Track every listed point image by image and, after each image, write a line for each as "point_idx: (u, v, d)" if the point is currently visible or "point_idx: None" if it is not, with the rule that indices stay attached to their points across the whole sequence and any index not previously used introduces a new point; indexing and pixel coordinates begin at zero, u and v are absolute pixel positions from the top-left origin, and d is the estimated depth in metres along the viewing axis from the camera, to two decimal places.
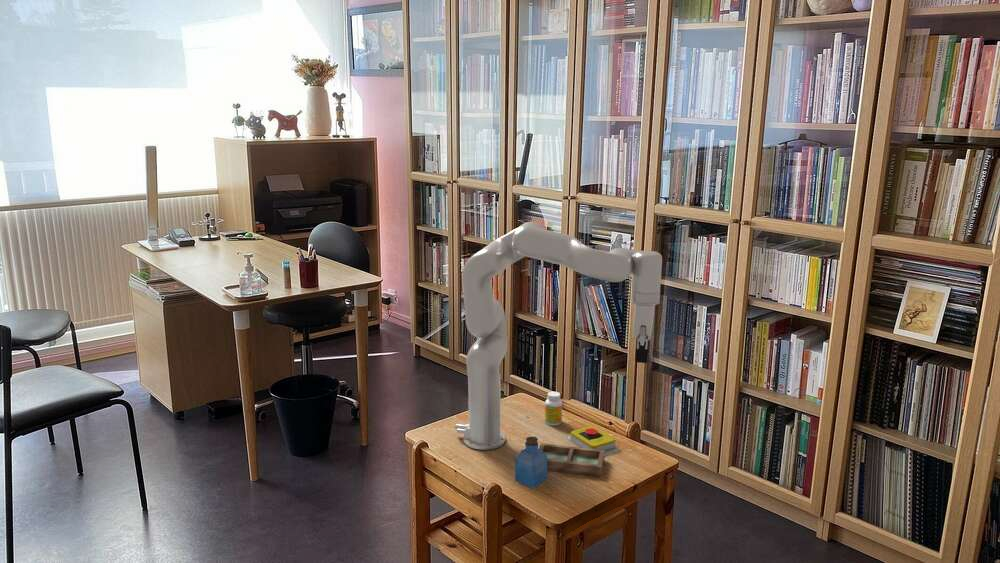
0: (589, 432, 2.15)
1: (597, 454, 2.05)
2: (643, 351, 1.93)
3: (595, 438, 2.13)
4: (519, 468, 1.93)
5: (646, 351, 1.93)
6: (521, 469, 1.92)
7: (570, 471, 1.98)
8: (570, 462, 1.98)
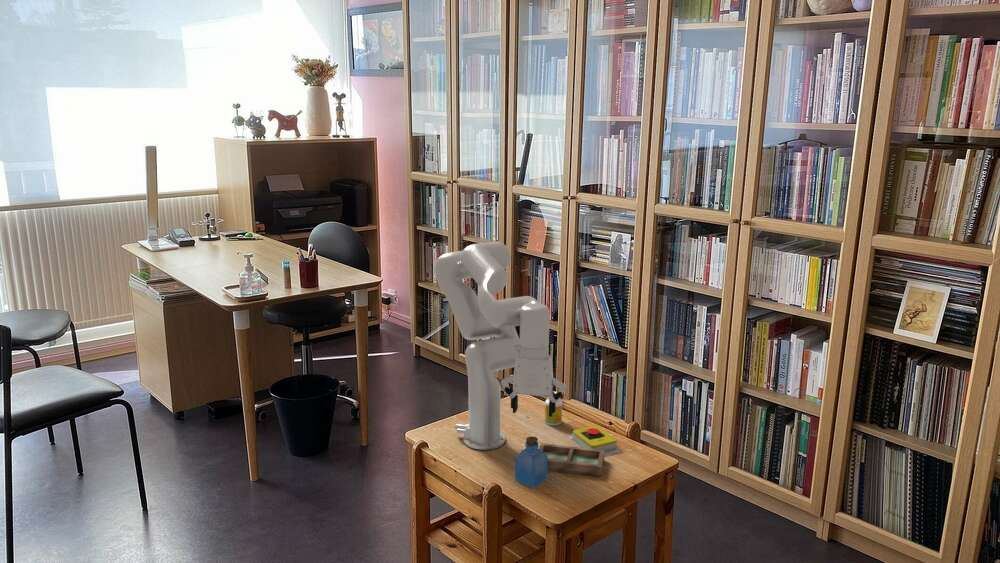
0: (590, 432, 2.15)
1: (597, 454, 2.05)
2: (555, 402, 1.88)
3: (596, 438, 2.13)
4: (519, 468, 1.93)
5: None
6: (521, 469, 1.92)
7: (570, 471, 1.98)
8: (570, 462, 1.98)
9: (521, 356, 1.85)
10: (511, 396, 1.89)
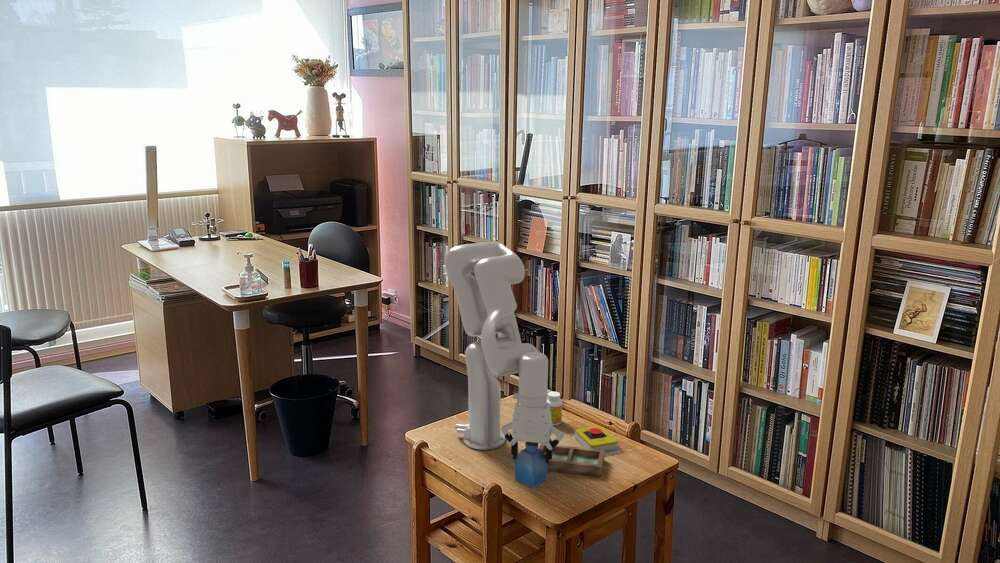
0: (592, 431, 2.15)
1: (597, 454, 2.05)
2: None
3: (597, 438, 2.14)
4: (519, 468, 1.93)
5: None
6: (521, 469, 1.92)
7: (570, 471, 1.98)
8: (570, 462, 1.98)
9: (520, 404, 1.88)
10: (511, 443, 1.93)
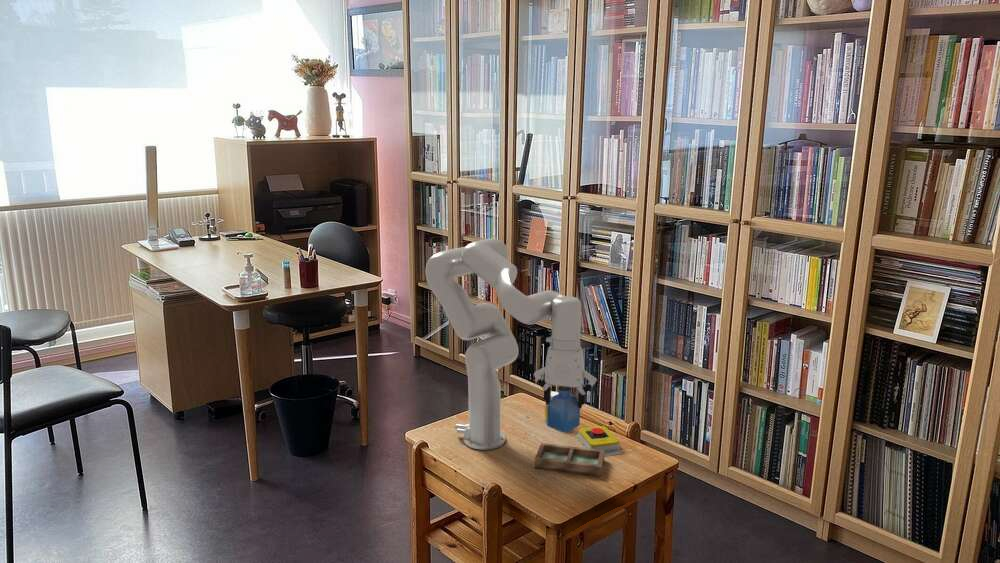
0: (594, 431, 2.15)
1: (597, 454, 2.05)
2: (584, 394, 1.92)
3: (599, 438, 2.14)
4: (552, 413, 1.93)
5: None
6: (553, 414, 1.93)
7: (570, 471, 1.98)
8: (570, 462, 1.98)
9: (553, 348, 1.89)
10: (544, 388, 1.93)
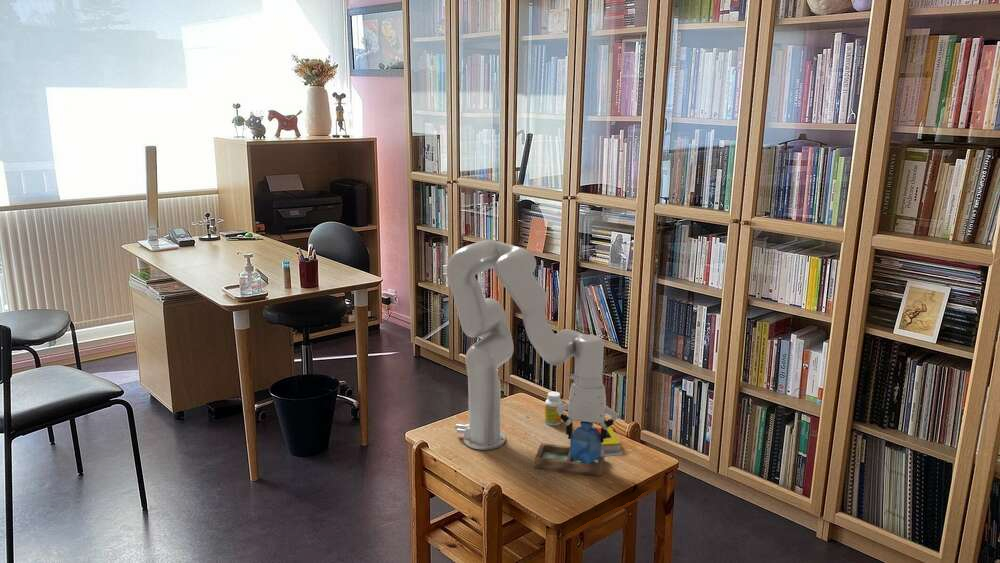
0: None
1: None
2: (606, 428, 1.99)
3: None
4: (575, 445, 1.99)
5: None
6: (576, 446, 1.99)
7: (570, 471, 1.98)
8: (570, 462, 1.98)
9: (576, 385, 1.95)
10: (567, 423, 1.99)
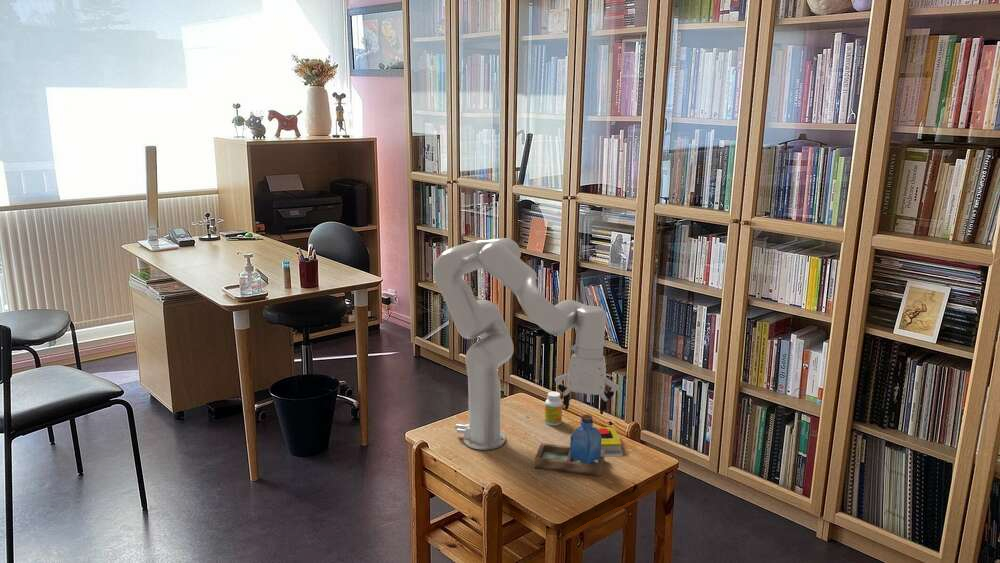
0: (599, 431, 2.15)
1: None
2: (606, 400, 1.97)
3: (602, 438, 2.13)
4: (575, 445, 1.99)
5: None
6: (576, 446, 1.99)
7: (570, 471, 1.98)
8: (570, 462, 1.98)
9: (577, 356, 1.93)
10: (564, 393, 1.98)
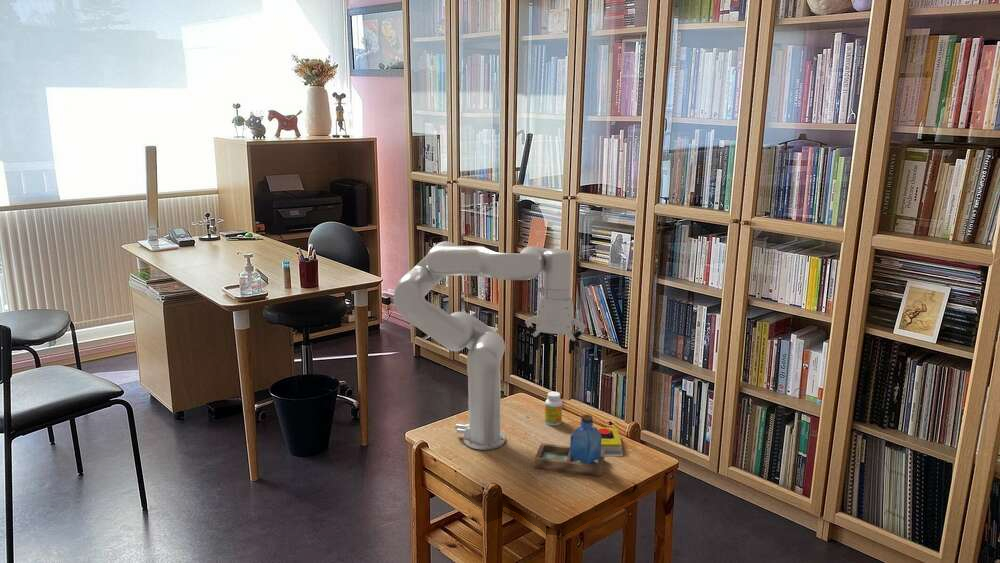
0: (600, 431, 2.15)
1: None
2: None
3: (603, 438, 2.13)
4: (575, 445, 1.99)
5: None
6: (576, 446, 1.99)
7: (570, 471, 1.98)
8: (570, 462, 1.98)
9: (545, 297, 2.01)
10: (534, 334, 2.06)
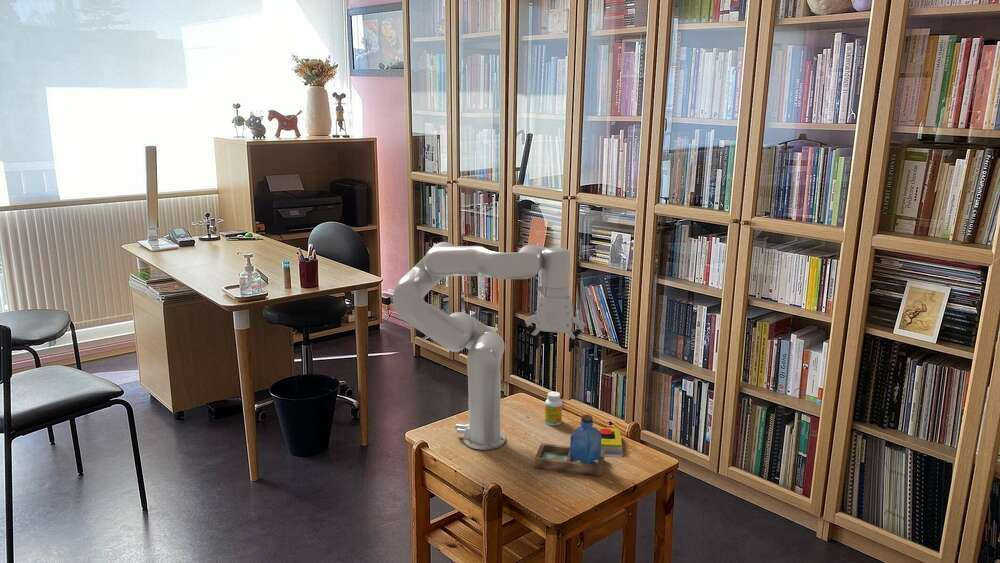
0: (601, 431, 2.15)
1: None
2: (574, 338, 2.05)
3: (604, 438, 2.13)
4: (575, 445, 1.99)
5: None
6: (576, 446, 1.99)
7: (570, 471, 1.98)
8: (570, 462, 1.98)
9: (544, 295, 2.01)
10: (534, 333, 2.06)
